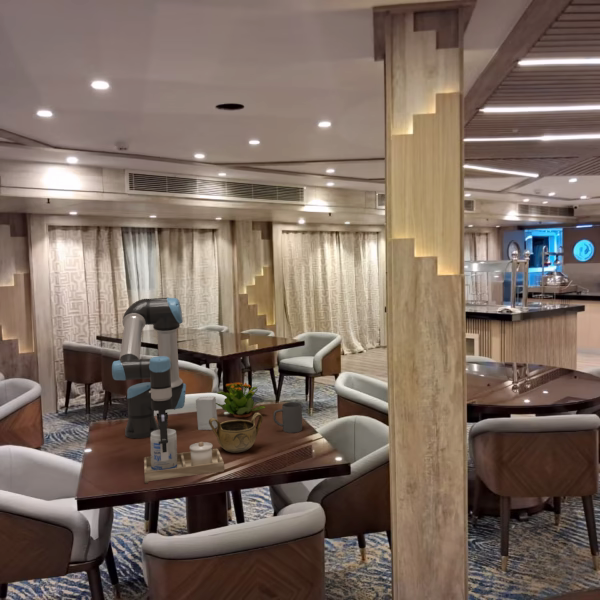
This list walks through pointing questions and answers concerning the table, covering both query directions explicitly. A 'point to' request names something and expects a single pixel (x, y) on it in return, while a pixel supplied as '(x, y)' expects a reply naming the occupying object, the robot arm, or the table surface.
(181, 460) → the caddy
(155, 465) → the supplement tub
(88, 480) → the table surface
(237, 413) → the potted flower
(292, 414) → the mug
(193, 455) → the sugar pot
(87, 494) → the table surface
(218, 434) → the ceramic bowl
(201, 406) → the skincare box
